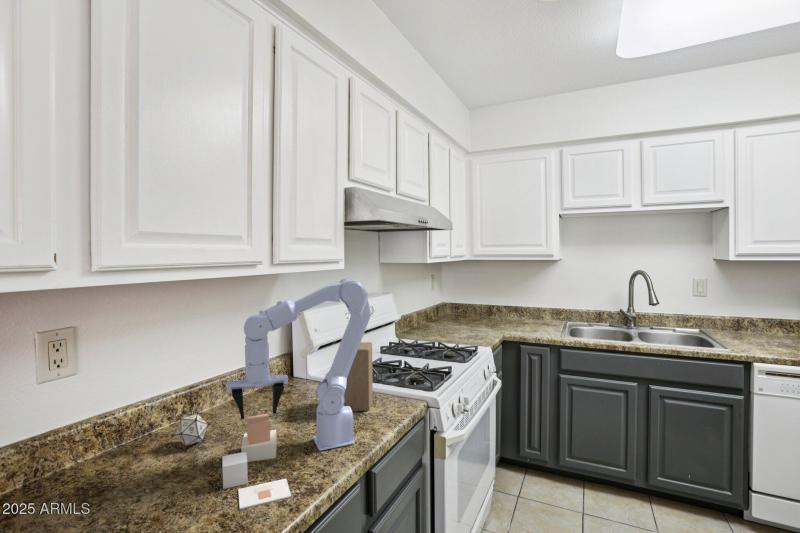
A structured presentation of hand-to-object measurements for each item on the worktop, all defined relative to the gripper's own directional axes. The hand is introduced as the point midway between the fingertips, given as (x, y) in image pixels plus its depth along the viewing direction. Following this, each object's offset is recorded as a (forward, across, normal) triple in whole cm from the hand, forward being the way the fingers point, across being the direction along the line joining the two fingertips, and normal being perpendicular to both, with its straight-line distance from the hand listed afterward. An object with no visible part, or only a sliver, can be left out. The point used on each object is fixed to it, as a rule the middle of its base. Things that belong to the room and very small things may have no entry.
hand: (258, 415), depth 103 cm
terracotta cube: (+6, 0, 0) cm, 6 cm away
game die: (+10, -16, +12) cm, 22 cm away
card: (+10, -1, -19) cm, 21 cm away
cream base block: (+10, 0, 0) cm, 10 cm away
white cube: (+10, -6, -11) cm, 16 cm away
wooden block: (+10, +32, +20) cm, 39 cm away
